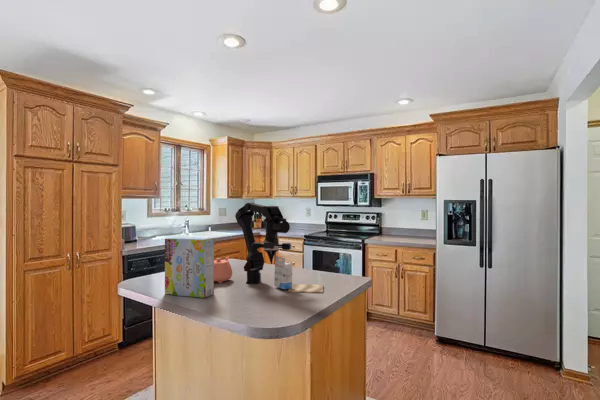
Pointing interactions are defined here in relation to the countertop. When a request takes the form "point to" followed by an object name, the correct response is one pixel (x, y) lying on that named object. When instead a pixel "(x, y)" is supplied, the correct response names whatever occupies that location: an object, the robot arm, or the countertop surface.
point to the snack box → (189, 266)
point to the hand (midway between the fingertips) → (271, 263)
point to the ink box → (283, 274)
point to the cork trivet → (306, 288)
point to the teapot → (222, 270)
